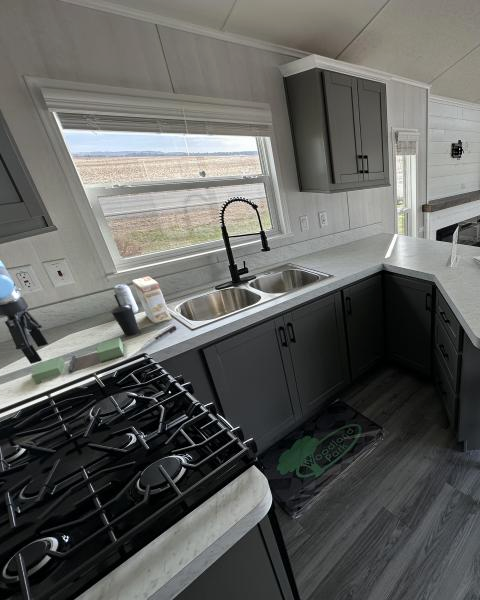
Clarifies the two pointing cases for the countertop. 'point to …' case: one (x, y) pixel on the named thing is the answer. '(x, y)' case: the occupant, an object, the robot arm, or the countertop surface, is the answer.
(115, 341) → the pad
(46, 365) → the pad
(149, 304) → the coffeecake box
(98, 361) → the backing board
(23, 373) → the countertop surface
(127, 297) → the energy drink can
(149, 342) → the kitchen knife
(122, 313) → the drinking cup
